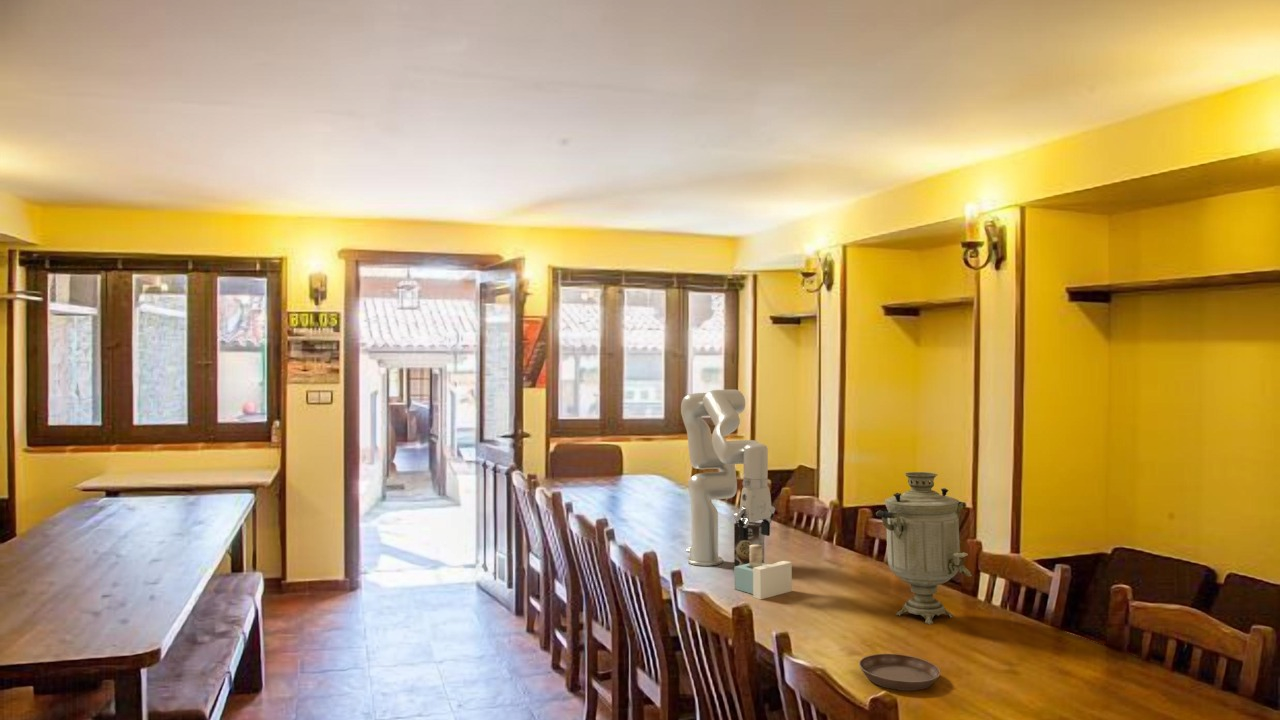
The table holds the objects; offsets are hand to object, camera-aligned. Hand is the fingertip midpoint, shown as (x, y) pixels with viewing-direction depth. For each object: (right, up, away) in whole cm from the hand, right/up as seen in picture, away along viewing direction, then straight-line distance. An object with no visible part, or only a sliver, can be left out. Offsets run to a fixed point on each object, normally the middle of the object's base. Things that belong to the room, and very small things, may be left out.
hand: (754, 537), depth 273 cm
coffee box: (+1, -16, +24) cm, 29 cm away
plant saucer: (+23, -17, -75) cm, 81 cm away
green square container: (+1, -16, -1) cm, 16 cm away
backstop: (+5, -16, -6) cm, 18 cm away
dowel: (0, -13, -1) cm, 13 cm away
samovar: (+44, -16, -31) cm, 57 cm away
